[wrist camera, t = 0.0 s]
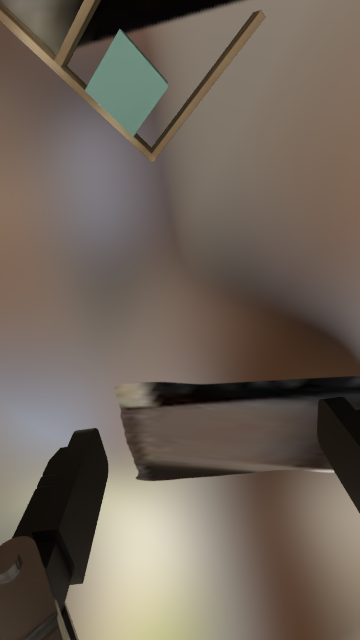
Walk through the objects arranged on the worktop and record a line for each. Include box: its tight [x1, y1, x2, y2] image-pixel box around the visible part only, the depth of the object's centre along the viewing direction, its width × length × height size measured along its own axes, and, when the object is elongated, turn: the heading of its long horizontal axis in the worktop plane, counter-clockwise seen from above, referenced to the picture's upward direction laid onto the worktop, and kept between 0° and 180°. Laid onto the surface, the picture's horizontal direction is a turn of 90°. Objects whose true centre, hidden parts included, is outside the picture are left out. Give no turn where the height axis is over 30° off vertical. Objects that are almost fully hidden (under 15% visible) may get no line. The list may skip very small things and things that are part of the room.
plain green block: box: [85, 29, 169, 136], centre depth 27 cm, size 5×5×5 cm
